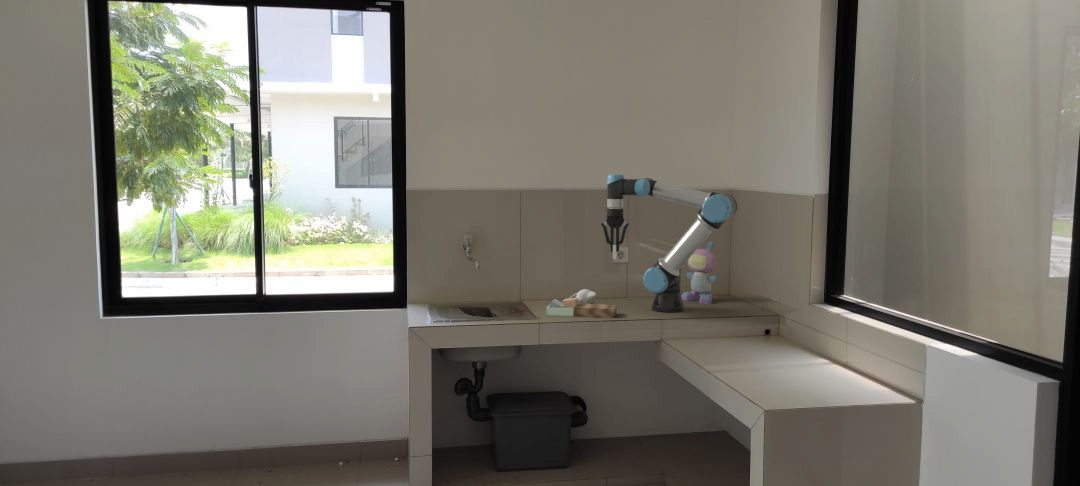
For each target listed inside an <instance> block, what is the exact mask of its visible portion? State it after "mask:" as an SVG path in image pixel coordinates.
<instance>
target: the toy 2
mask: <svg viewBox="0 0 1080 486" xmlns="http://www.w3.org/2000/svg"><path fill="white" fill-rule="evenodd" d="M715 245H716V244H715V242H714V241H708V242H707V245H706V249H705V248H698V249H697V250H696V251H695V252H694V253H693V254H692V256H691V257H690V258H689V259H688V260H687V266H688V268H689V269H690V270H691V271H694V272H691V271H688V272H686V273H685V276H686V278H687V279H688V280H691V281H690V288H691V290H690V291H684V292H683V293H682V294H681V298H682V301H686V302H689V301H690V302H692V301H698V303H699V304H707V305H710V304H712V302H713V293H711V292H710V291H711V290H712V283H717V282H718V281H719V280H720V279H719V276H718V275H717V274H714V275H710V276H709V273H712V272H714V271H715V269H716V256H715V254H714V252H712V249H713V248H714V246H715Z"/></svg>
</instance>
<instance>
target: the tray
mask: <svg viewBox="0 0 1080 486" xmlns="http://www.w3.org/2000/svg"><path fill="white" fill-rule="evenodd" d="M549 306H550V304H548V305H547V306H546V307H545V316H546V317H547V316H548V317H549V316H550V317H551V316H553V317H570V318H571V317H575V316H574V307H575V306H574V307H565V308H551V307H549Z"/></svg>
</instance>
